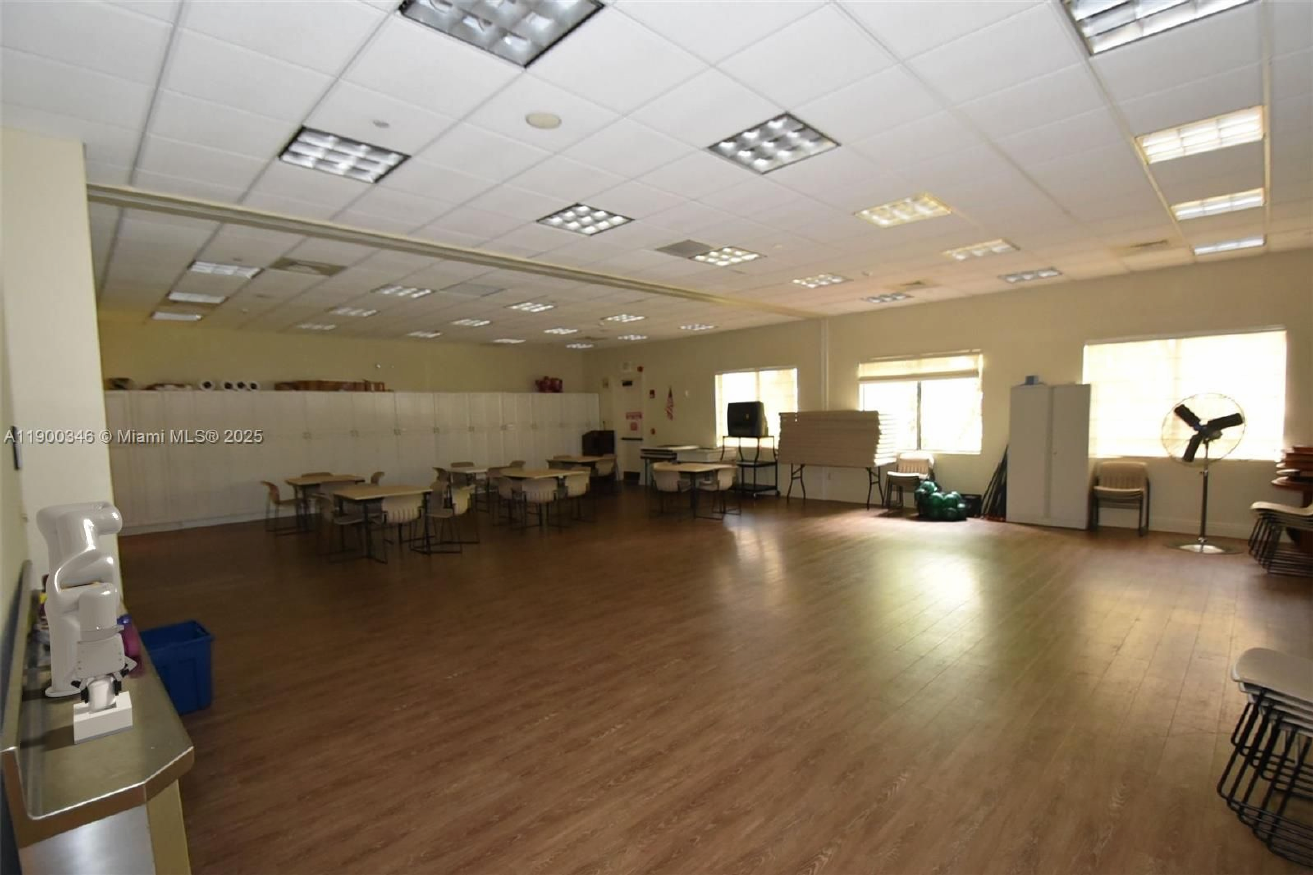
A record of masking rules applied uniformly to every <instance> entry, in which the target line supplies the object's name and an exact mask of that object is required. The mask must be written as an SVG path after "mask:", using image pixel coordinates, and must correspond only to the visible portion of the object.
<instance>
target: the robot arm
mask: <svg viewBox="0 0 1313 875" xmlns="http://www.w3.org/2000/svg"><path fill="white" fill-rule="evenodd" d="M35 521H36V526H37V528H38V530H39V532H40V534H41V536H42V537H43V539H44V540H45V543H46V545H47V552H48V554H47V555H48V570H49V571H48V572H49V574H48V575H47V576H48V577H47V579H46V582H45V595H46V599H45V600H46V601H45V602H44V605H43V606H44V613H45V617H46V621H47V625H48V631H49V646H50V664H51V665H50V669H51V686H50V687H47V688H46V690H45V696H47V697H49V698H50V697H51V698H58V697H65V696H66V697H67V696H71V695H75V694H79V693H80V701H82V702H83V701H84V702H85V704H86V703H88V689H87V686H88V684H89V683H90V682H91V681H92V680H94V677H96V676H100V675H105V674H106V675H109V674H113V677H114V682H115V696H119V692H121V691H122V689H123V686H122V680H123V679H124V678H125V677H126V676H127V675H128V674H129V672H131V670H133V669H134V668H135V667H136V666H137V664H138V663H137V662H136V661H135V660H133V659H132V658H130V657H128V656H126V655H125V649H124V641H123V638H122V634H121V633H119V632H120V631H124V629H125V627H124V626H125V625H124V624H121V625H119V624H118V620H117V609H118V608H119V606H120V601H121V600H120V599H121V598H120V597H121V596H120V595H121V593H120V580H119V579H120V578H119V577H120V576H119V566H118V561H117V558H116V556H115V554H114V553H112V552H109V551H103V549H102V544H101V540H100V537H99V536H109V535H115V534H118V533H120V532H121V530H122V528H123V518H122V515H121V512H120V510H119V509H118V508H117V506H115V505H114V504H113V503H112V502H110V501H106V500H105V501H93V502H92V501H90V502H78V503H65V504H64V503H63V504H56V505H51V506H46V507H43V508H40V509H39V510H38V511H37V512H36V516H35ZM92 583H93V584H92ZM86 584H87V585H86ZM73 586H75V587H73ZM66 587H68V588H66ZM61 588H62V589H61ZM63 588H64V589H63ZM126 664H127V666H126ZM125 666H126V667H125Z"/></svg>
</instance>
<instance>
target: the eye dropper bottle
mask: <svg viewBox="0 0 1313 875" xmlns="http://www.w3.org/2000/svg"><path fill="white" fill-rule="evenodd" d="M114 680H115V676H114V675H113V676H112V675H109V674H105V675H100V676H96V677H94V680H92V681H91V682H90V683H89V684H88V686H87V689H88V705H89V710H90V711H98V710H101V709H104V708H106V707H108V706H110V705H112V704H114V703H115V702H116V696H115V682H114Z"/></svg>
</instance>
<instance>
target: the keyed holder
mask: <svg viewBox="0 0 1313 875" xmlns="http://www.w3.org/2000/svg"><path fill="white" fill-rule="evenodd" d="M132 728H134V726H133V706H132V700H131V695H130V691H129V690H127V691H124V692H120V693H119V696H116V702H115V703H114V704H112V705H110V706H108V707H106V708H104V709H101V710H98V711H90V710H89V705H88V703H86V704H85V701H84V702H83V701H82V702H80V703H75V704H73V738H74V742H73V743H74V745H75V744H76V745H79V744H82V743H85V742H90V741H94V740H97V739H100V738H103V737H107V736H111V735H114V734H118V732H119V733H121V732H125V731H129V730H133V729H132Z"/></svg>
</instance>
